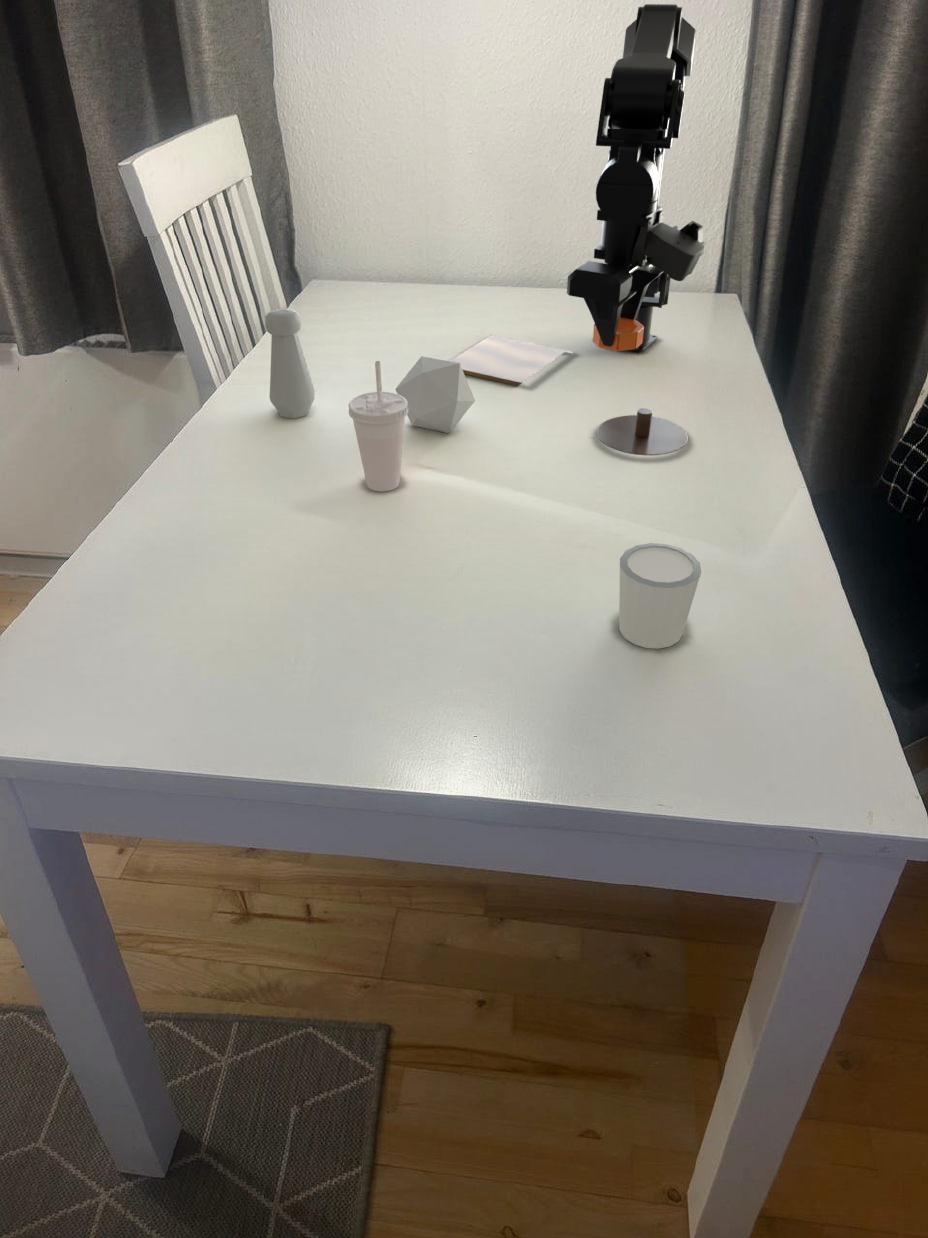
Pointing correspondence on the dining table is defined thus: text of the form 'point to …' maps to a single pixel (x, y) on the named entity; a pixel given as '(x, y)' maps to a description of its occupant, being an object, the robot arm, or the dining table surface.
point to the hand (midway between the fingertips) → (617, 337)
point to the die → (436, 394)
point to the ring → (623, 336)
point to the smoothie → (380, 434)
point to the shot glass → (656, 593)
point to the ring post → (642, 434)
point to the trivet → (506, 359)
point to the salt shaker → (288, 366)
